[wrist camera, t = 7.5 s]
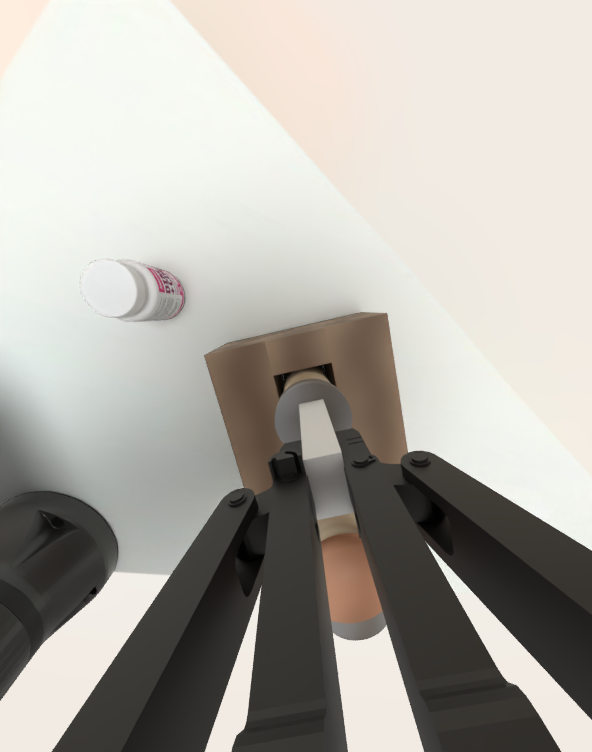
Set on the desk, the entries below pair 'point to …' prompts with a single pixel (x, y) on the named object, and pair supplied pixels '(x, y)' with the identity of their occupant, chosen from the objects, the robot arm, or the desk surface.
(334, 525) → the plug middle
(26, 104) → the desk surface
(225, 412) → the socket board
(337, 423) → the plug
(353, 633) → the plug
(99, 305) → the pill bottle
